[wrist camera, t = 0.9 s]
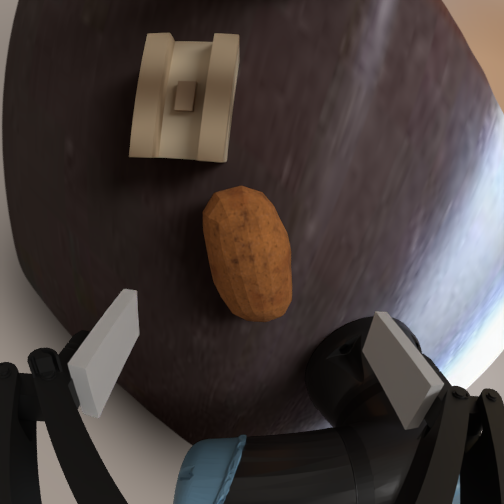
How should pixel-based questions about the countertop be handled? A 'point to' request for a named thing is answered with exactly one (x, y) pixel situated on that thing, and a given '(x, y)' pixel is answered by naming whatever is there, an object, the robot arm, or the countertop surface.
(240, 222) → the potato
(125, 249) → the countertop surface
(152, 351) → the countertop surface
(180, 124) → the cradle
